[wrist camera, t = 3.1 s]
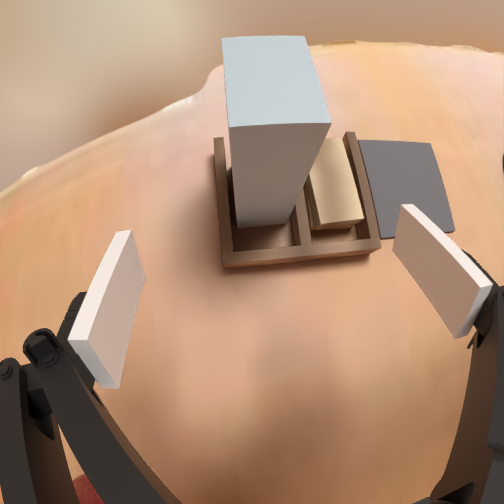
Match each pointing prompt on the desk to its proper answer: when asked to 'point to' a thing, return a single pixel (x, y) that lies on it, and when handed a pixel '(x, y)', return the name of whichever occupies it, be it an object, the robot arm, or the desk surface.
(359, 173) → the rack
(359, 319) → the desk surface
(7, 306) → the desk surface
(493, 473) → the robot arm
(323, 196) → the offcut top
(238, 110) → the pale blue thick slab
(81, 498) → the canister
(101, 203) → the desk surface
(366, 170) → the mat
